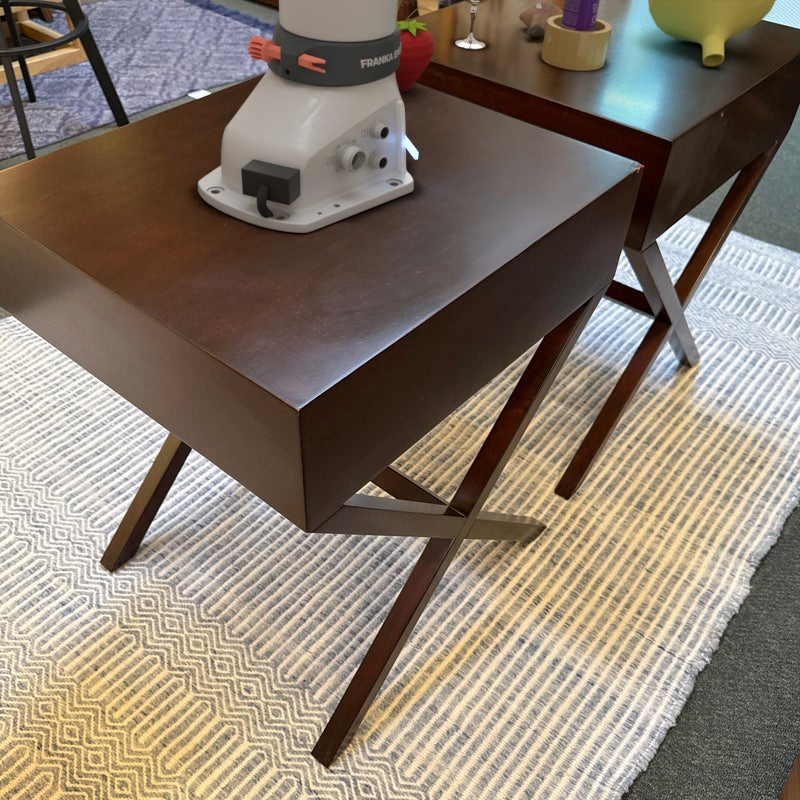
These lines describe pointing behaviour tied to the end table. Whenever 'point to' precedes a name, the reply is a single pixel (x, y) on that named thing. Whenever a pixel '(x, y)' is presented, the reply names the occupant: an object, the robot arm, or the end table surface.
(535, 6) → the oil lamp
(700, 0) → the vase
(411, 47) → the strawberry
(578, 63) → the tape roll
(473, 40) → the wineglass
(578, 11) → the container
